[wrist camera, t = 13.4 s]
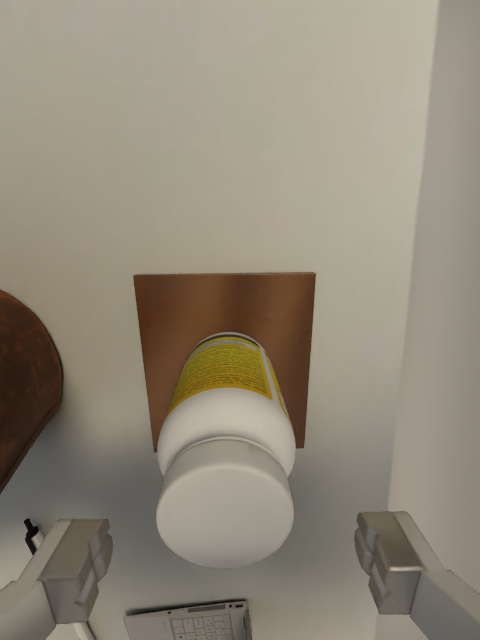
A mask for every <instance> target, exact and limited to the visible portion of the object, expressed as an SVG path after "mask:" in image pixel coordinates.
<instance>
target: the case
mask: <svg viewBox="0 0 480 640" xmlns="http://www.w3.org/2000/svg"><path fill="white" fill-rule="evenodd" d="M61 386H62V375H61V367H60V362H59V358H58V355H57V352H56V350H55V348H54V345H53V343H52V341H51V338H50V337H49V335H48V333H47V331H46V329H45V328H44V326H43V325H42V323H41V322H40V321H39V319H38V318H37V317H36V316H35V315H34V314H33V313H32V312H31V311H30V310H29V309H28V308H27V307H26V306H25V305H24V304H22V303H21V302H20V301H18V300H17V299H16V298H14V297H12V296H11V295H9V294H8V293H6V292H4V291H2V290H0V494H1V493H2V491H3V489H4V488H5V486H6V485H7V483H8V482H9V480H10V479H11V477H12V476H13V474H14V473H15V471H16V470H17V468H18V466H19V465H20V463H21V462H22V460H23V459H24V457H25V456H26V454H27V453H28V451H29V449H30V448H31V447H32V445H33V444H34V442H35V441H36V439H37V438H38V436H39V435H40V433H41V432H42V430H43V429H44V428H45V426H46V425H47V424H48V422H49V421H50V420H51V419H52V418H53V417H54V415H55V414H56V413H57V411H58V409H59V406H60V403H61V398H60V395H61Z"/></svg>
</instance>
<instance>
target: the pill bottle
mask: <svg viewBox="0 0 480 640" xmlns="http://www.w3.org/2000/svg"><path fill="white" fill-rule="evenodd" d="M295 455H296V444H295V437H294V432H293V428H292V425H291V422H290V419H289V415H288V412H287V409H286V406H285V403H284V400H283V397H282V394H281V391H280V388H279V385H278V382H277V379H276V376H275V373H274V370H273V367H272V364H271V361H270V359H269V357H268V355H267V353H266V351H265V350H264V348H263V347H262V346H261V345H260V344H259V343H258V342H256V341H255V340H254V339H252V338H251V337H249V336H246V335H244V334H241V333H236V332H222V333H217V334H214V335H211V336H209V337H207V338H205V339H203V340H202V341H200V342H199V343H198V344H197V345H196V346H195V347H194V348H193V349H192V351H191V352H190V354H189V356H188V358H187V360H186V362H185V365H184V367H183V370H182V373H181V376H180V378H179V381H178V384H177V387H176V389H175V392H174V395H173V397H172V400H171V403H170V406H169V409H168V411H167V414H166V417H165V419H164V422H163V425H162V428H161V431H160V435H159V439H158V445H157V459H158V465H159V468H160V472H161V474H162V476H163V478H164V479H163V483H162V488H161V492H160V496H159V500H158V504H157V510H156V523H157V528H158V531H159V534H160V536H161V538H162V540H163V541H164V543H165V544H166V545H167V546H168V547H169V548H170V549H171V550H172V551H173V552H174V553H175V554H177V555H178V556H180V557H181V558H183V559H185V560H187V561H189V562H191V563H194V564H197V565H200V566H204V567H209V568H216V569H232V568H239V567H244V566H247V565H251V564H254V563H256V562H259V561H261V560H263V559H265V558H267V557H268V556H270V555H271V554H273V553H274V552H275V551H276V550H277V549H278V548H279V547H280V546H281V545H282V544H283V543H284V541H285V540H286V539H287V537H288V535H289V533H290V531H291V528H292V525H293V521H294V507H293V501H292V497H291V492H290V487H289V483H288V477H289V476H290V473H291V471H292V469H293V465H294V461H295Z"/></svg>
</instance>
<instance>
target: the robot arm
mask: <svg viewBox="0 0 480 640" xmlns="http://www.w3.org/2000/svg"><path fill="white" fill-rule="evenodd" d="M357 523H358V525H359V528H358V529H357V530H356V531H355V537H354V541H355V549H356V553H357V556H358V559H359V562H360V565H361V567H362V569H363V570H364V571H365V572H366V573H367V574H368V575H369V576H370V579H369V585H368V586H369V588H370V591H371V593H372V596H373V599H374V601H375V604H376V606H377V609H378V611H379V614H403V615H404V614H405V615H406V614H407V615H408V614H409V615H410V617H411V619H412V620H413V621H414V622H415V623H416V625H417V626H418V627H419V628H420V629H421V631H422V632H423V633H424V634H425V635H426V636H427V637H428V639H429V640H480V593H478V592H477V591H476V590H474V589H473V588H472V587H471V586H470V585H468V584H467V583H466V582H465V581H463V580H462V579H461V578H460V577H459V576H457V575H456V574H455V573H454V572H452V571H451V570H445V569H444V567H443V566H442V564H441V562H440V561H439V559H438V558H437V556H436V555H435V553H434V552H433V550H432V548H431V547H430V545H429V544H428V543H427V541H426V539H425V538H424V536H423V535H422V533H421V531H420V530H419V528H418V527H417V525H416V524H415V522H414V521H413V519H412V517H411V516H410V515H409V514H408V513H407V512H404V511H399V512H389V511H385V512H361V513H359V514H358V515H357ZM109 528H110V525H109V521H108V519H59V520H58V521H57V522H56V523H55V524H54V525H53V526H52V527H51V529H50V530H49V532H48V534H47V535H46V537H45V538H44V540H43V541H42V543H41V544H40V546H39V547H38V549H37V551H36V552H35V554H34V555H33V557H32V558H31V560H30V561H29V563H28V564H27V566H26V568H25V569H24V571H23V572H22V574H21V575H20V577H19V578H18V580H17V581H11V582H10V583H9V584H8V585H6V586H5V587H4V588H3V589H2V590H0V640H45V639H46V638H47V637H48V636H49V635H50V633H51V632H52V631H53V630H54V629H55V627H56V624H68V623H84V622H87V621H88V618H89V616H90V613H91V611H92V608H93V606H94V603H95V601H96V598H97V596H98V593H99V591H98V585H97V583H98V582H99V581H100V580H101V579H102V578H103V577H104V576H105V575H106V573H107V570H108V567H109V565H110V561H111V557H112V552H113V540H112V537H111V536H110V535H109V534H108V533H107V532H108V530H109Z"/></svg>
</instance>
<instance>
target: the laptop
mask: <svg viewBox="0 0 480 640" xmlns="http://www.w3.org/2000/svg"><path fill="white" fill-rule="evenodd" d="M244 619H245V620H244ZM124 622H125V625H126V628H127V632H128V635H129V638H130V640H252V635H251V632H252V626H251V619H250V617H249V610H248V603H247V602H246V601H241V602H230V603H221V604H212V605H204V606H196V607H188V608H181V609H173V610H166V611H159V612H153V613H146V614H139V615H132V616H126V617H124Z"/></svg>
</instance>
